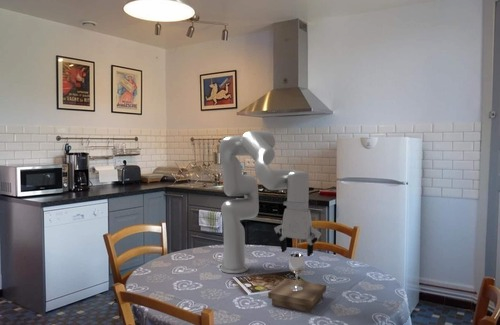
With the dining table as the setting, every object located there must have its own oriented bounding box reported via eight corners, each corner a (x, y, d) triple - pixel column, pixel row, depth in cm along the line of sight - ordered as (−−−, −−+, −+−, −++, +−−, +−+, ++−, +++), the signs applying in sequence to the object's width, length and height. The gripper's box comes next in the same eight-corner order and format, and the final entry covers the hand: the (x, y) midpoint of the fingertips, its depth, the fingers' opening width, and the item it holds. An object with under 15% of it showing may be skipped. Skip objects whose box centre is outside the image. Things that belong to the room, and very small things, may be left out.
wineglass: (287, 285, 142) (287, 253, 142) (302, 285, 143) (302, 252, 142) (290, 291, 136) (290, 258, 136) (306, 291, 137) (306, 257, 136)
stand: (268, 305, 136) (268, 292, 136) (285, 289, 150) (285, 278, 150) (312, 314, 129) (312, 300, 129) (326, 297, 143) (326, 285, 143)
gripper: (271, 205, 139) (270, 252, 140) (318, 210, 131) (316, 259, 132) (279, 202, 145) (278, 247, 147) (324, 206, 138) (323, 254, 139)
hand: (296, 253), depth 139 cm, fingers open, 9 cm apart
